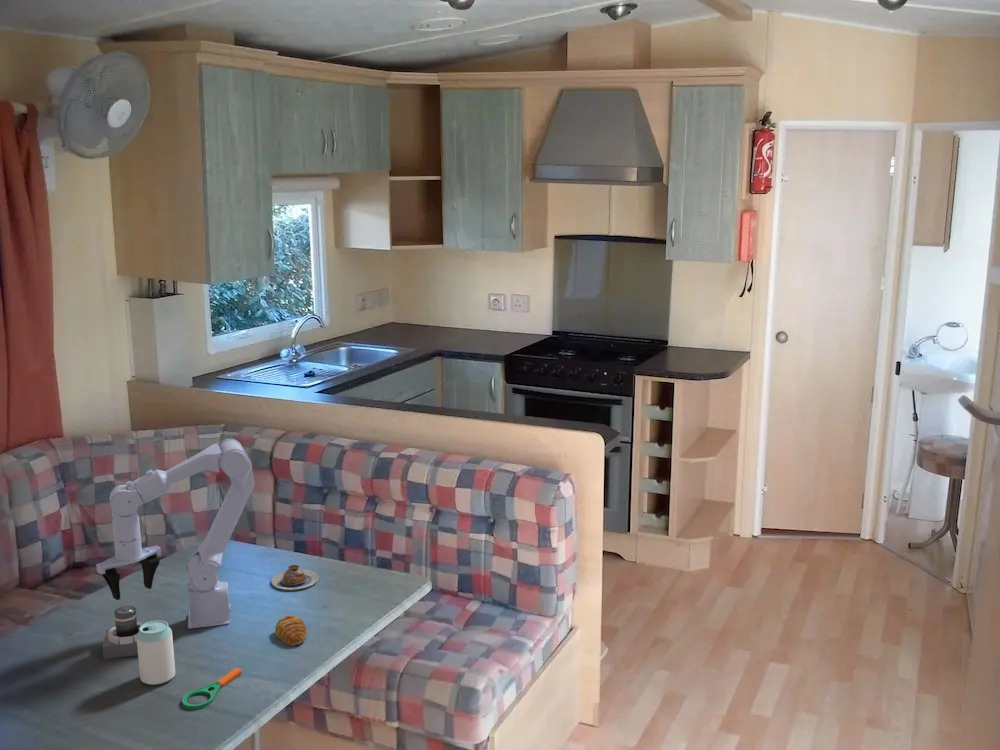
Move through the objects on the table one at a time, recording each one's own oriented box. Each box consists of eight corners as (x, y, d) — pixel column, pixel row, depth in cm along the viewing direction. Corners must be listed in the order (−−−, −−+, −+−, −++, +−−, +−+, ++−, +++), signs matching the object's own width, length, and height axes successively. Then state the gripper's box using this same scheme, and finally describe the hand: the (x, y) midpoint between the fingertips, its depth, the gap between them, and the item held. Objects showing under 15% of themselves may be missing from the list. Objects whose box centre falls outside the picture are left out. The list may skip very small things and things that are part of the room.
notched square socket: (153, 636, 223) (152, 619, 222) (151, 653, 216) (150, 635, 215) (107, 642, 220) (105, 625, 219) (103, 659, 213) (101, 641, 212)
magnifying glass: (198, 714, 193) (197, 706, 193) (175, 706, 196) (174, 699, 195) (249, 678, 206) (249, 671, 206) (227, 671, 209) (227, 664, 208)
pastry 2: (269, 576, 256) (268, 560, 255) (315, 570, 259) (314, 554, 258) (273, 596, 244) (272, 579, 243) (321, 589, 248) (320, 572, 247)
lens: (142, 634, 218) (140, 609, 216) (123, 642, 214) (120, 616, 213) (131, 628, 221) (129, 603, 219) (112, 635, 217) (109, 610, 216)
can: (155, 690, 201) (150, 637, 198) (133, 680, 204) (128, 628, 202) (182, 675, 206) (178, 623, 204) (160, 666, 210) (156, 615, 207)
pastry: (313, 643, 220) (312, 628, 220) (284, 650, 217) (283, 635, 216) (300, 626, 228) (300, 611, 228) (272, 632, 225) (271, 617, 224)
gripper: (148, 524, 228) (153, 577, 231) (87, 542, 217) (93, 598, 220) (163, 532, 223) (168, 586, 226) (102, 550, 213) (108, 607, 216)
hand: (132, 592), depth 223 cm, fingers open, 7 cm apart
